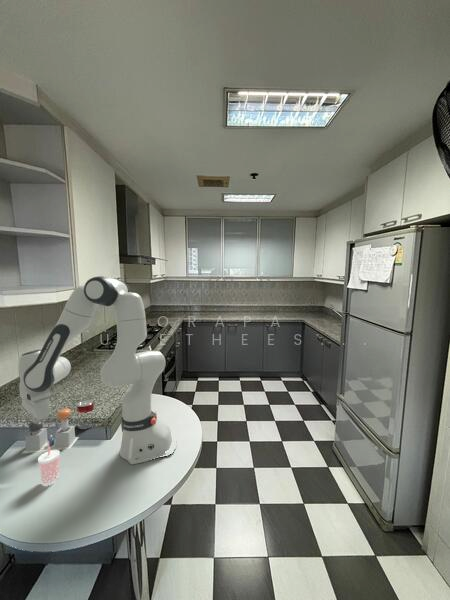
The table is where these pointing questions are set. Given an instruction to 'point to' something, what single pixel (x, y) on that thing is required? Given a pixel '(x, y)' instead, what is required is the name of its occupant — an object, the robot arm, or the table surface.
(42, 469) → the beverage cup
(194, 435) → the table surface
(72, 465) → the table surface
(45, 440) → the mount
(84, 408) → the soda can
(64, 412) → the knob orange
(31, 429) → the knob black
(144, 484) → the table surface
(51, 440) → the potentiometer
